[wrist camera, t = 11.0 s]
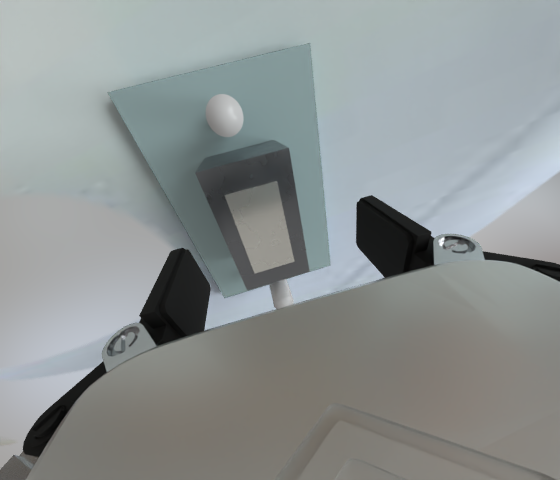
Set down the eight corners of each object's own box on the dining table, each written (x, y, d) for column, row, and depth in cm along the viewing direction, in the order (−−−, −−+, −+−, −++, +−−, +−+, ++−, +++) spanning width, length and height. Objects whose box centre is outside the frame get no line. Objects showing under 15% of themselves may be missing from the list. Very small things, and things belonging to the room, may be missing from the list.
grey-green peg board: (304, 47, 13) (353, 2, 8) (326, 259, 23) (353, 300, 18) (116, 94, 12) (32, 77, 7) (224, 291, 22) (222, 342, 17)
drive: (273, 139, 14) (289, 147, 10) (294, 241, 19) (309, 272, 15) (205, 157, 14) (194, 173, 10) (244, 256, 19) (247, 291, 15)
